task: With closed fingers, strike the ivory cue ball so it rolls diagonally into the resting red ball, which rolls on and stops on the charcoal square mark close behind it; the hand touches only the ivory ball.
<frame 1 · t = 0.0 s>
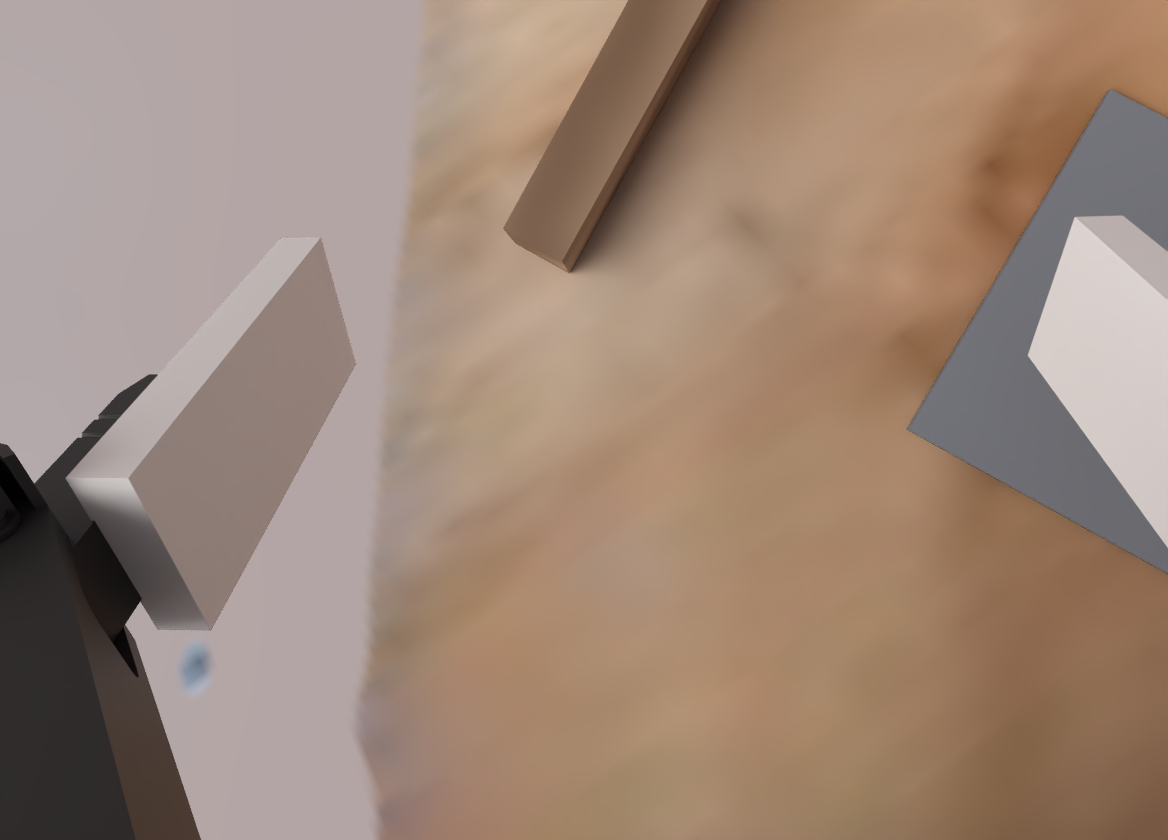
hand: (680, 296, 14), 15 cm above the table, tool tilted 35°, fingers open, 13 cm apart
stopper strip: (645, 71, 29), on the table
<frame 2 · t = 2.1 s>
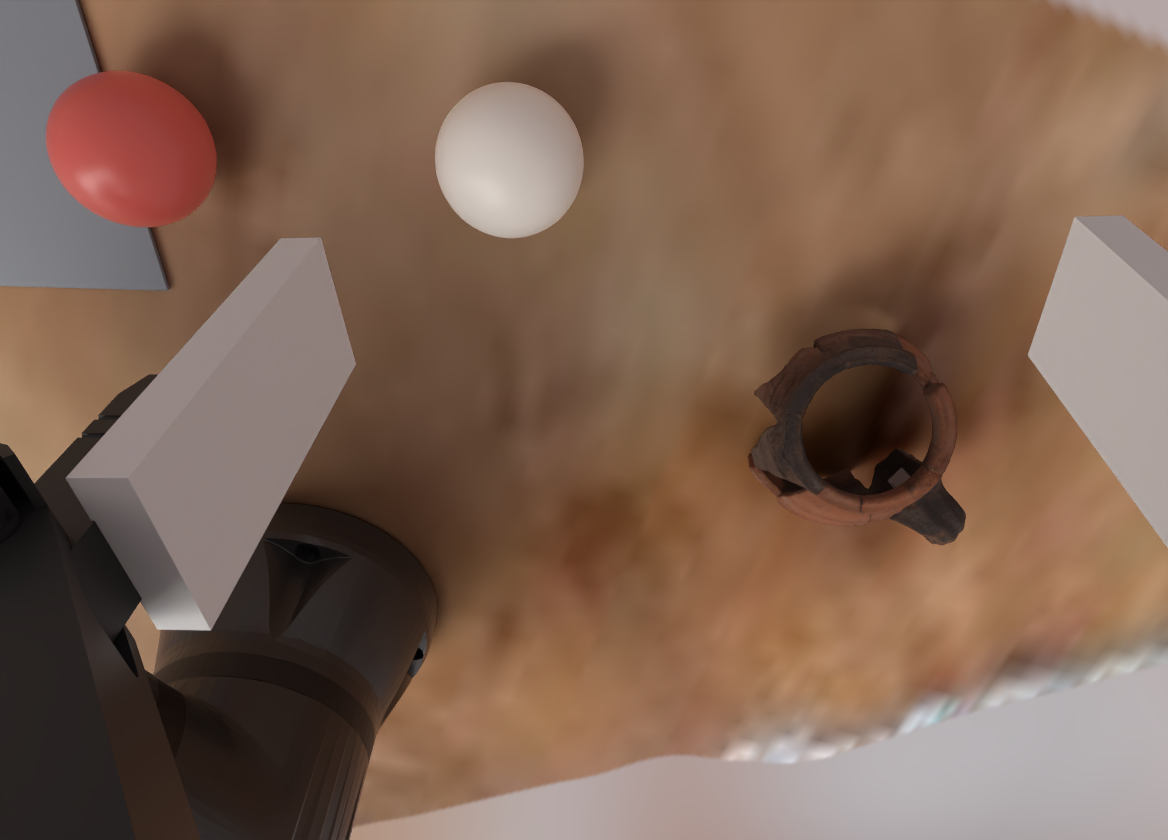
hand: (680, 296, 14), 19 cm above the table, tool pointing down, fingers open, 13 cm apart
red ball: (135, 151, 29), on the table
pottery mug: (840, 411, 39), on the table
cue ball: (510, 162, 29), on the table
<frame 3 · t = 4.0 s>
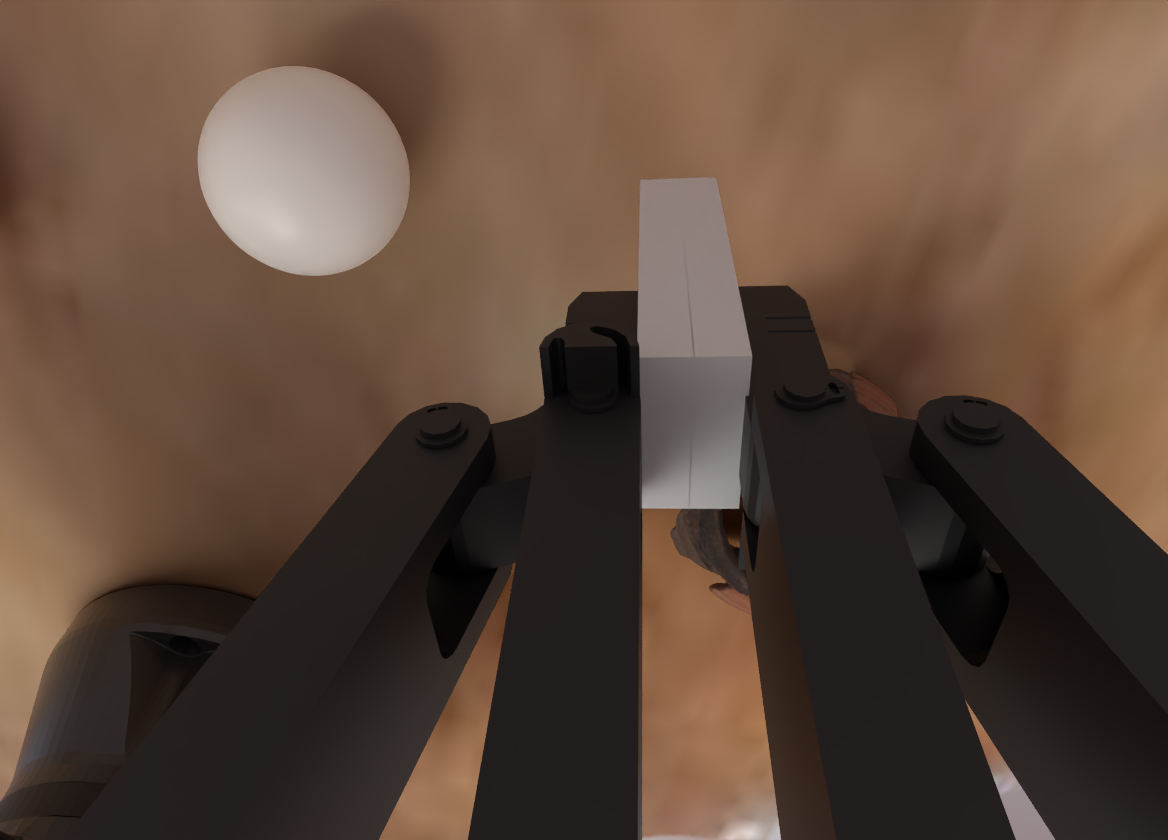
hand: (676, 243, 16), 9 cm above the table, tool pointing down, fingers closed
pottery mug: (798, 465, 31), on the table
cue ball: (308, 174, 21), on the table
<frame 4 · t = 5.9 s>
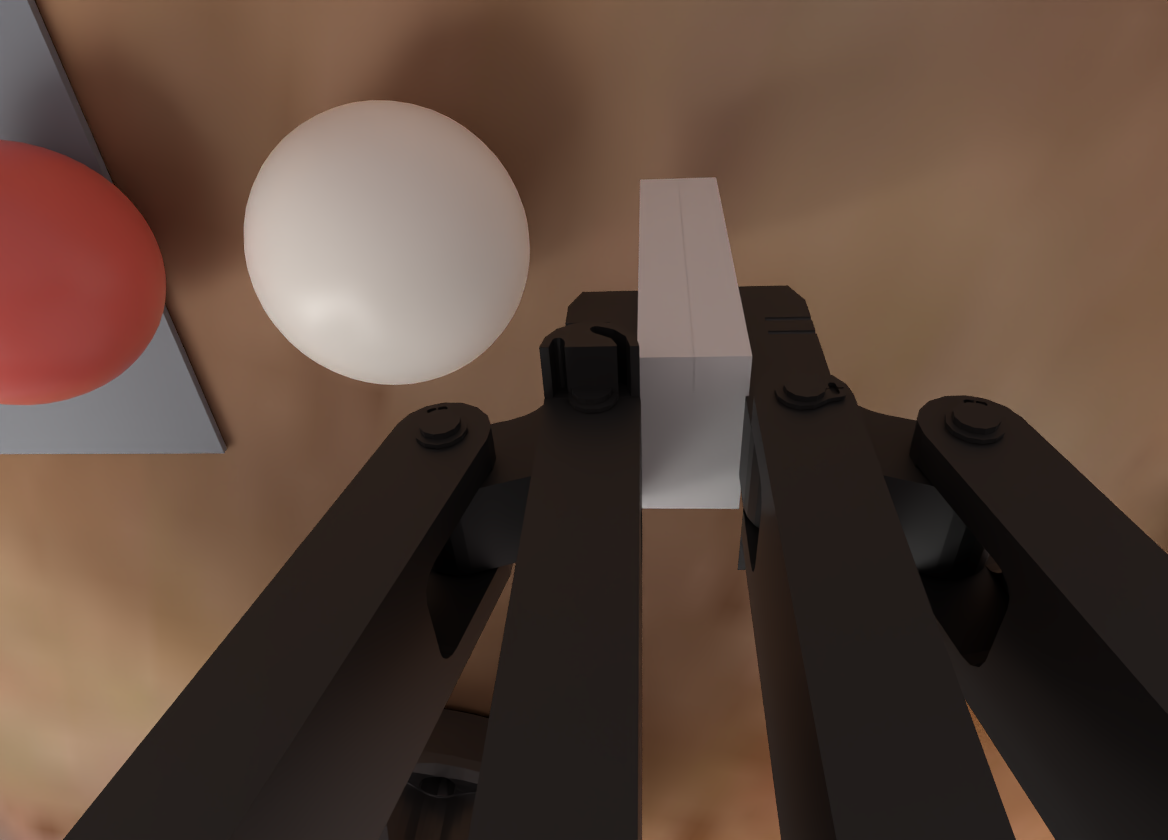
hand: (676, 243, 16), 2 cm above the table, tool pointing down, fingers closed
red ball: (19, 276, 17), on the table
cue ball: (392, 247, 16), on the table
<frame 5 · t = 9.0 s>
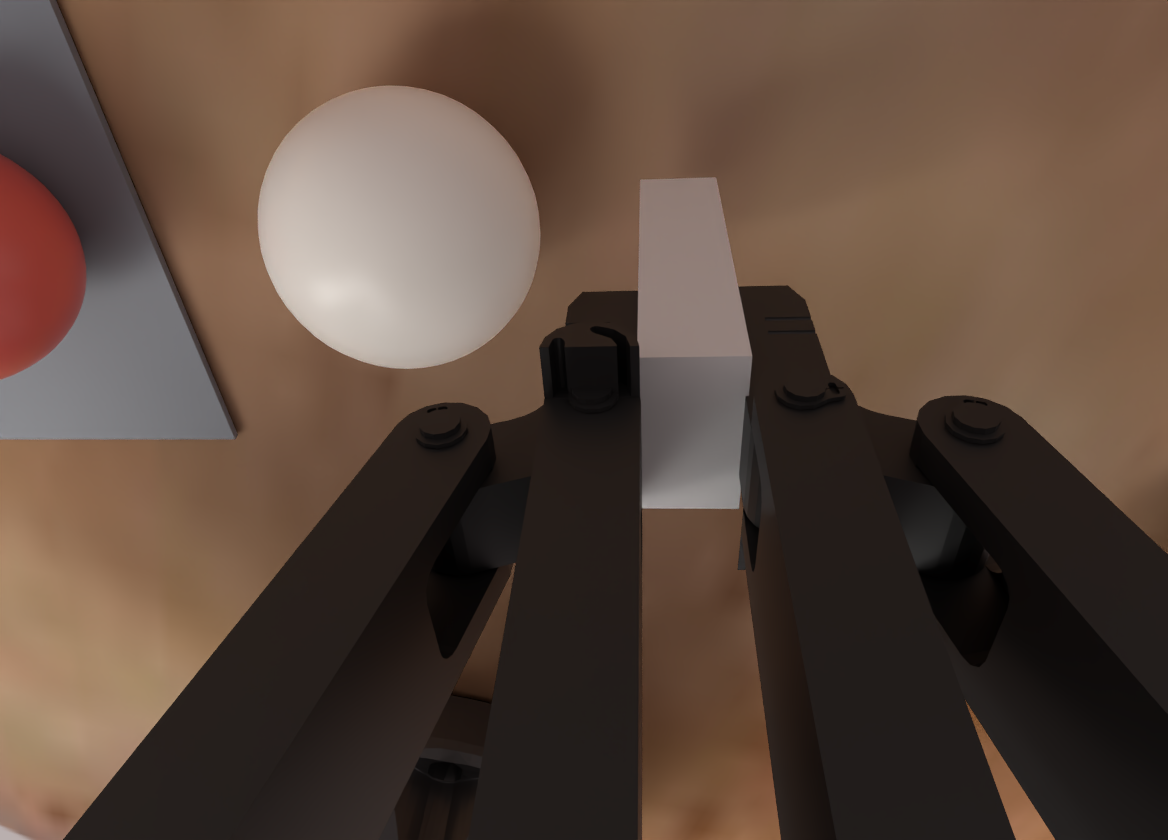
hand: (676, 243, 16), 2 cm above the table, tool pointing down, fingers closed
cue ball: (404, 232, 16), on the table
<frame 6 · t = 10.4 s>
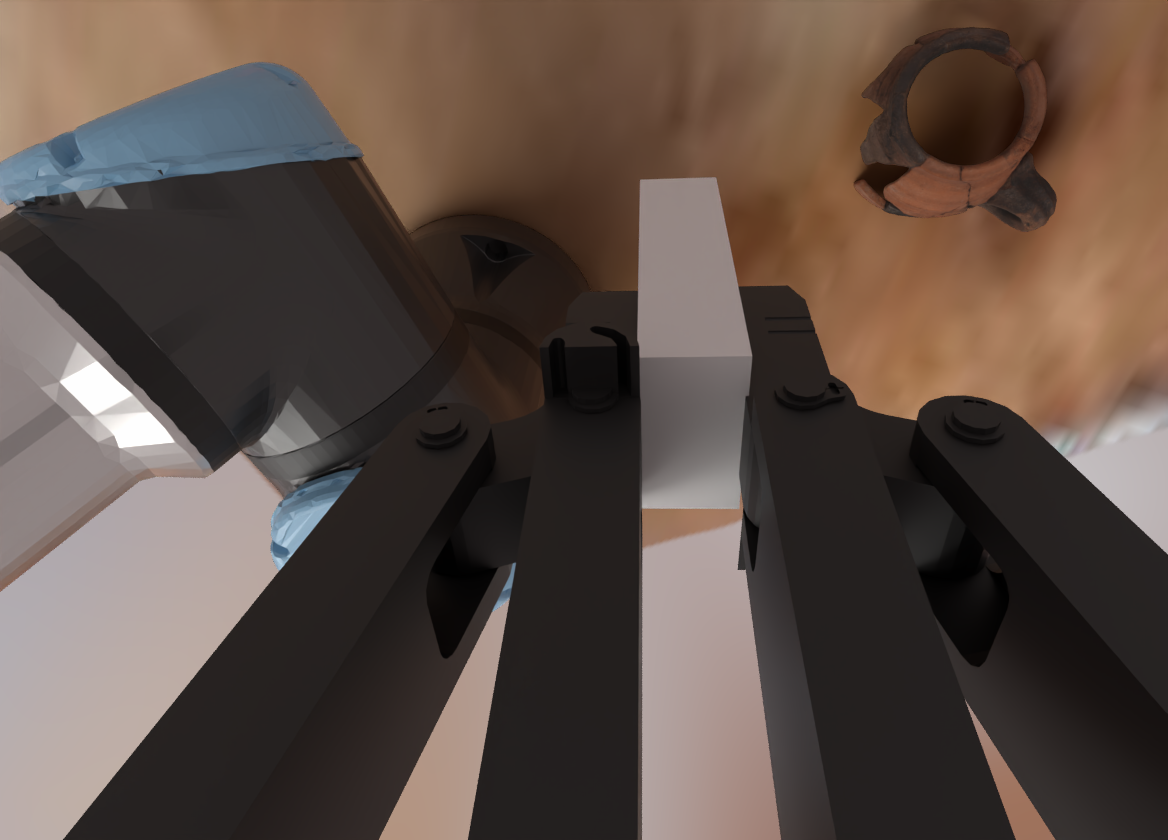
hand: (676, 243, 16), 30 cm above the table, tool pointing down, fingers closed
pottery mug: (938, 130, 44), on the table
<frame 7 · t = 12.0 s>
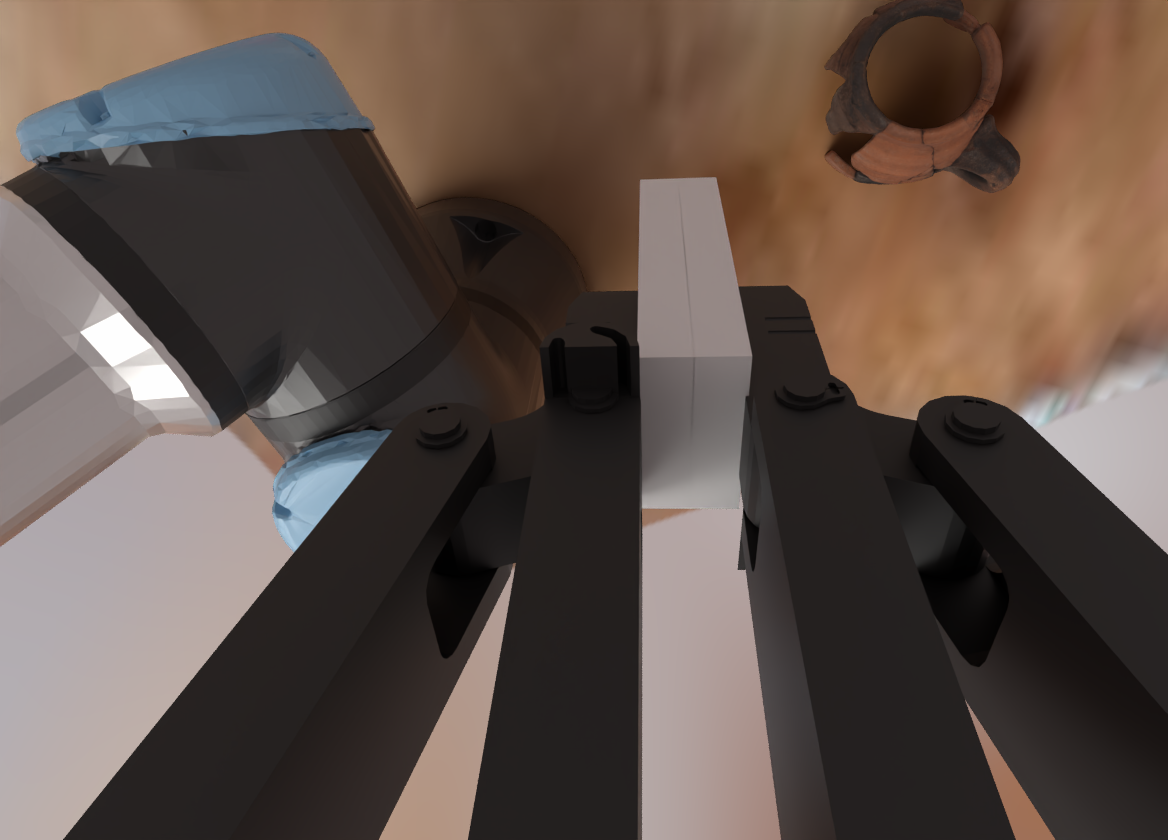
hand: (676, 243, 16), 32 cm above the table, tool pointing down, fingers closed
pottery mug: (904, 99, 45), on the table
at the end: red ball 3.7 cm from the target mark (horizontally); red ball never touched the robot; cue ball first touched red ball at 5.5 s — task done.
